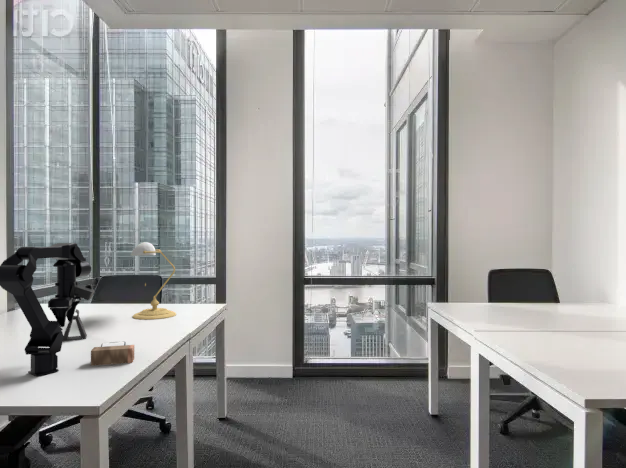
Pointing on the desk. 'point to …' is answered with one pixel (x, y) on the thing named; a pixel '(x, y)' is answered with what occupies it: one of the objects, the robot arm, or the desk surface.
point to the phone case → (113, 344)
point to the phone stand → (80, 327)
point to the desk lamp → (153, 312)
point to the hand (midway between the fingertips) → (66, 324)
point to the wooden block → (112, 355)
